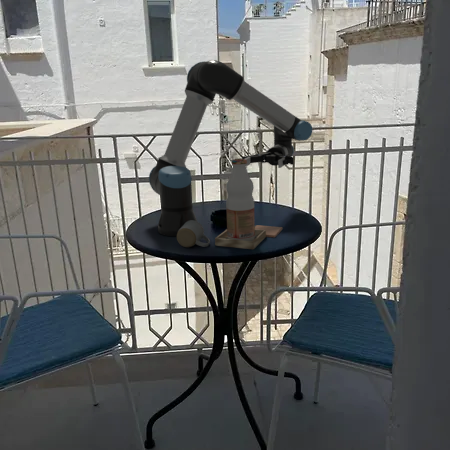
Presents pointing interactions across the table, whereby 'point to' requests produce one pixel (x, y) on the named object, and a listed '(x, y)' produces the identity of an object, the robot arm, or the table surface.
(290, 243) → the table surface
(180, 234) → the ceramic mug
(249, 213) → the fruit juice
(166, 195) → the robot arm
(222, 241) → the birch collar
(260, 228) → the terracotta tile
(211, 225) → the table surface
